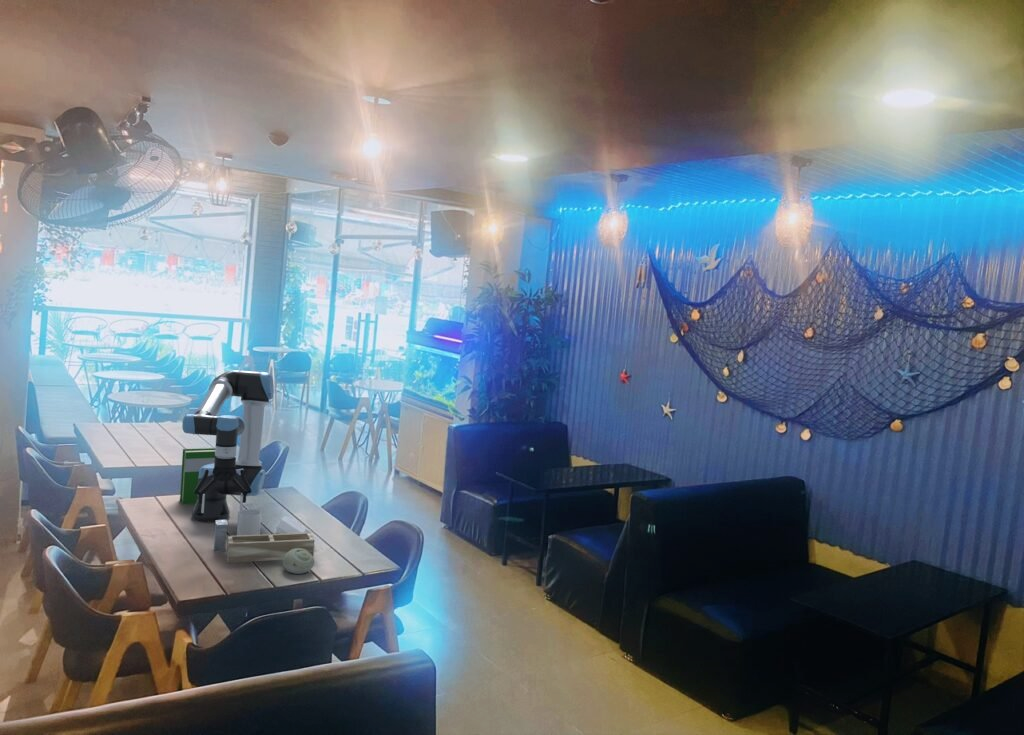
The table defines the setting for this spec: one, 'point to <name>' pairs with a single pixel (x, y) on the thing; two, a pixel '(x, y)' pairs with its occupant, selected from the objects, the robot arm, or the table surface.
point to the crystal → (290, 526)
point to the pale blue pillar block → (220, 535)
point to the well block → (266, 546)
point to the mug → (249, 522)
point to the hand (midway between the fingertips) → (221, 511)
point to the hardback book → (193, 471)
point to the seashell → (298, 561)
